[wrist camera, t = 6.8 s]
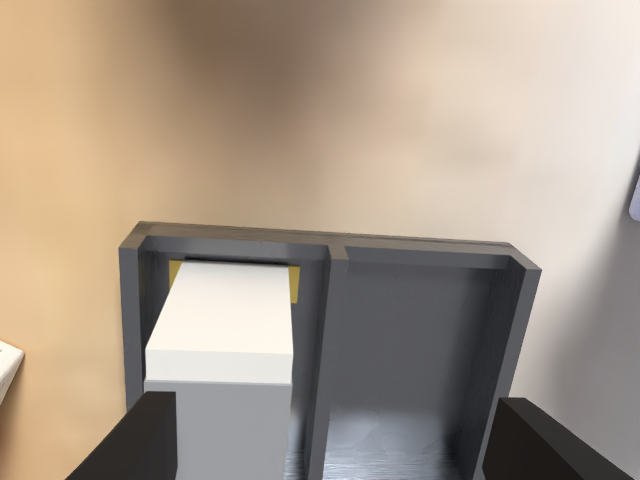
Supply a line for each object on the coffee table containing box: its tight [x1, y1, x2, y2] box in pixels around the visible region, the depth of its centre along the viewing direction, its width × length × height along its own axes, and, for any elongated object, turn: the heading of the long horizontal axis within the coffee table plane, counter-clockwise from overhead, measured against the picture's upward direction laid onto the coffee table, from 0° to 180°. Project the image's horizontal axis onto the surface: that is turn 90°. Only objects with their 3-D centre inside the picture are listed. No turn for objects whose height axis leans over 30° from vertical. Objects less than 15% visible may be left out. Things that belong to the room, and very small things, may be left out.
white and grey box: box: [144, 260, 293, 480], centre depth 18 cm, size 4×8×6 cm, turn 175°
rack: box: [119, 221, 542, 480], centre depth 20 cm, size 15×11×3 cm
